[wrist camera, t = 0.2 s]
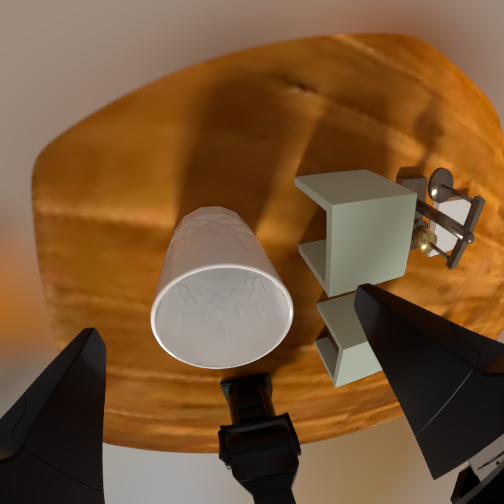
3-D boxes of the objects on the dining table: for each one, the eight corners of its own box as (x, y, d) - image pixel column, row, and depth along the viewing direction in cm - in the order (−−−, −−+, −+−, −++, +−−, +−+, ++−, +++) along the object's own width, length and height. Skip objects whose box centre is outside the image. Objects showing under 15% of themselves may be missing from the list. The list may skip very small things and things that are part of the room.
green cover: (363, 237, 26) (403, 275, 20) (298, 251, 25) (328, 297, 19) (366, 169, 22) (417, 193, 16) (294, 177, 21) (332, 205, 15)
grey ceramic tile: (456, 242, 29) (461, 246, 28) (424, 252, 29) (429, 256, 28) (466, 195, 26) (471, 198, 25) (433, 199, 25) (439, 202, 24)
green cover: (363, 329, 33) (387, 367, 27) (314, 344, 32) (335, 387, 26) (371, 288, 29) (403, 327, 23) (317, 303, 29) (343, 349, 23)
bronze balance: (413, 235, 27) (470, 281, 19) (390, 241, 27) (448, 292, 18) (421, 156, 22) (494, 186, 14) (397, 156, 22) (473, 188, 14)
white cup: (147, 241, 22) (122, 324, 13) (216, 177, 20) (230, 231, 12) (209, 295, 26) (219, 382, 17) (275, 244, 24) (317, 320, 16)
